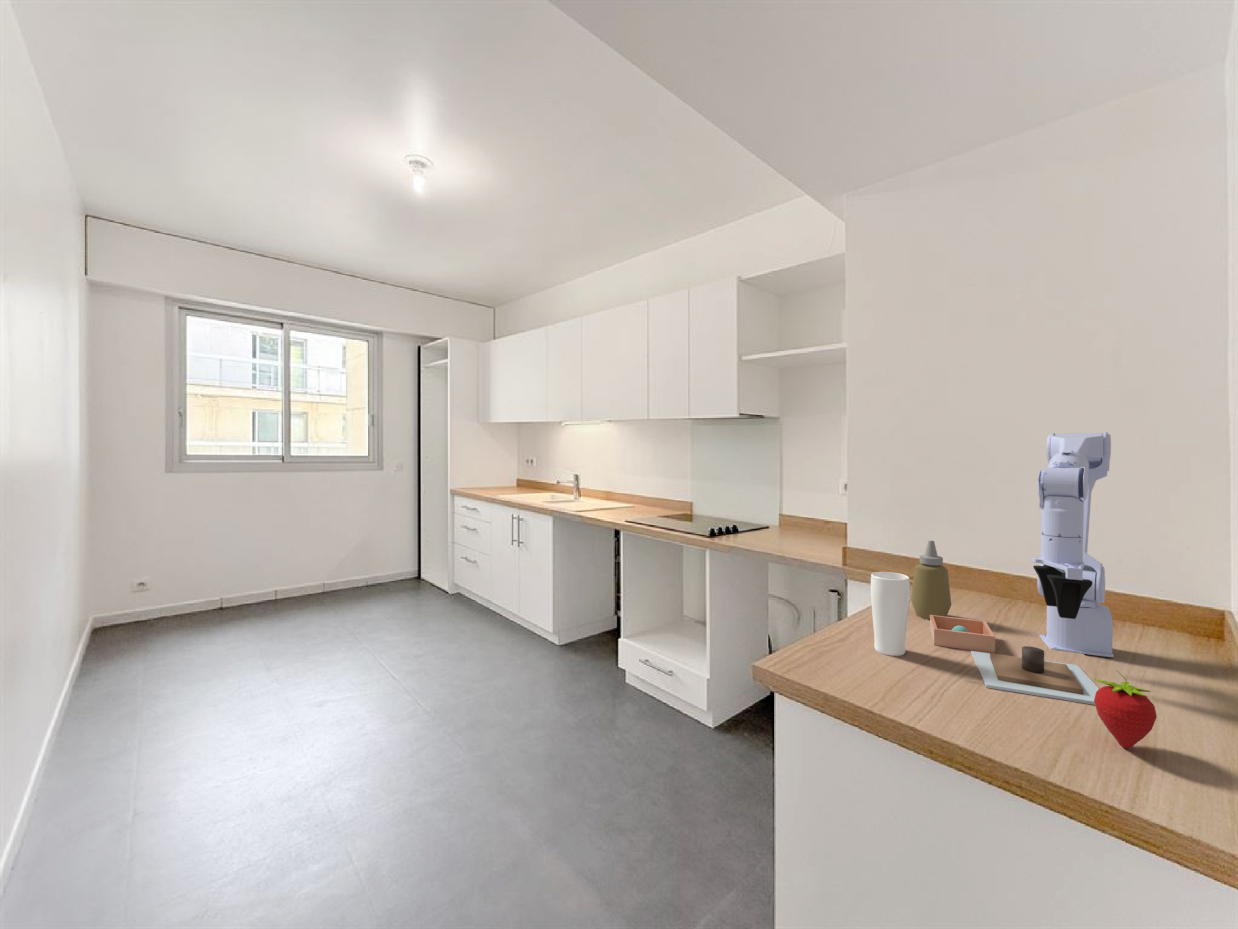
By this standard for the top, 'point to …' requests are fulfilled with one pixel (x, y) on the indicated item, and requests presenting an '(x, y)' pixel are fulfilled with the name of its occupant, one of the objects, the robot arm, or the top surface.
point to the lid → (1035, 671)
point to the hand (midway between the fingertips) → (1060, 611)
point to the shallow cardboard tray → (962, 634)
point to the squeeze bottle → (931, 585)
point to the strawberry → (1125, 712)
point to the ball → (960, 629)
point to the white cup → (890, 611)
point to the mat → (992, 682)
